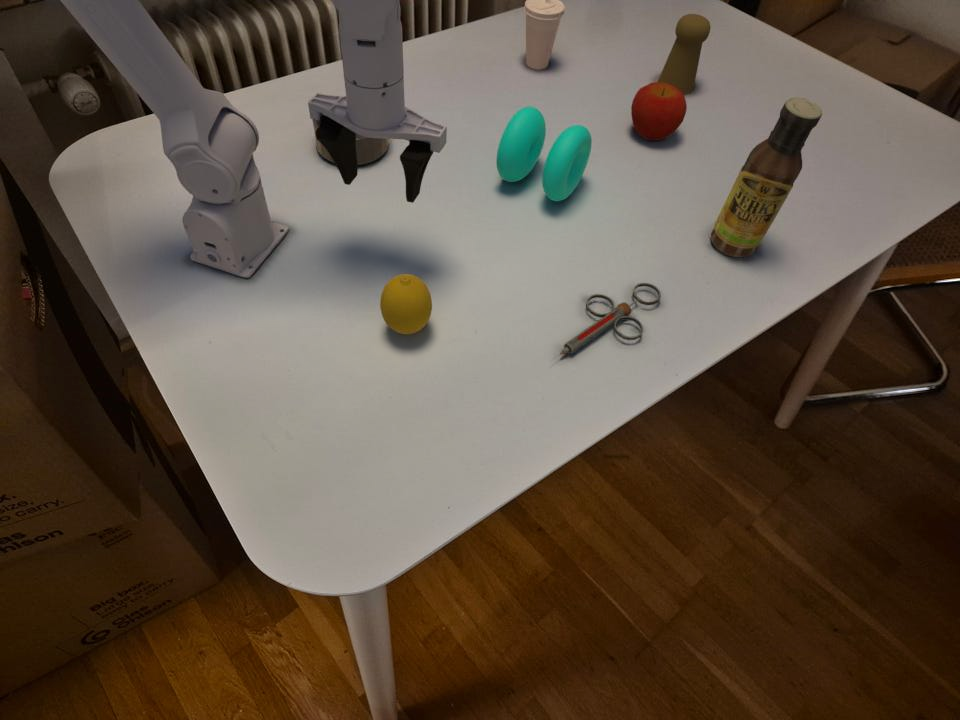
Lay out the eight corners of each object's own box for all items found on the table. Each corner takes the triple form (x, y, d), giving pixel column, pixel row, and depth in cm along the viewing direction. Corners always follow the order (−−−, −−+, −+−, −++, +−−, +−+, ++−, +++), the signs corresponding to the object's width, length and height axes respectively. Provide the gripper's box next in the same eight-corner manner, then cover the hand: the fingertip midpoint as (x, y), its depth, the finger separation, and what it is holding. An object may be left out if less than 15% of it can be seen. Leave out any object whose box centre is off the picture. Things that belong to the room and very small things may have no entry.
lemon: (434, 313, 77) (435, 263, 70) (427, 350, 73) (427, 301, 67) (387, 308, 77) (383, 257, 70) (378, 345, 73) (373, 295, 67)
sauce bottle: (703, 250, 86) (765, 111, 70) (714, 222, 90) (775, 83, 74) (753, 267, 85) (827, 128, 69) (761, 238, 88) (834, 99, 72)
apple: (686, 144, 100) (703, 96, 94) (641, 153, 98) (655, 105, 92) (659, 116, 105) (674, 69, 98) (616, 124, 102) (628, 76, 96)
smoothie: (562, 62, 113) (577, -26, 102) (544, 78, 109) (557, -12, 98) (529, 50, 115) (540, -38, 104) (510, 65, 111) (520, -24, 100)
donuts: (524, 154, 96) (533, 90, 88) (586, 179, 94) (601, 115, 86) (489, 190, 91) (495, 125, 83) (554, 218, 88) (567, 154, 80)
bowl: (369, 175, 91) (366, 147, 88) (304, 157, 93) (299, 128, 89) (399, 137, 97) (398, 109, 93) (337, 120, 99) (334, 91, 95)
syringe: (524, 344, 74) (526, 335, 73) (629, 274, 82) (633, 264, 81) (573, 388, 71) (576, 379, 70) (678, 311, 79) (682, 301, 78)
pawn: (650, 79, 111) (669, 11, 103) (679, 72, 113) (700, 6, 104) (671, 97, 108) (692, 30, 99) (701, 91, 110) (724, 24, 101)
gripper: (459, 70, 65) (455, 184, 76) (325, 37, 67) (339, 152, 78) (431, 106, 61) (431, 221, 72) (290, 70, 63) (310, 187, 74)
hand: (381, 188), depth 75 cm, fingers open, 7 cm apart
